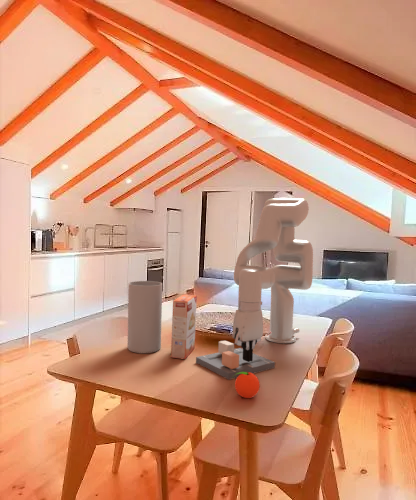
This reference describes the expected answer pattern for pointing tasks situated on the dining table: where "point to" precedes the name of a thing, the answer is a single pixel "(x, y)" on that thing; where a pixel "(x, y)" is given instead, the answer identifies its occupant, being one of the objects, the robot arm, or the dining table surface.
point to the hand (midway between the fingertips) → (247, 360)
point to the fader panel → (216, 366)
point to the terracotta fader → (230, 359)
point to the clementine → (247, 384)
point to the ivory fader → (225, 347)
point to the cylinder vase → (144, 316)
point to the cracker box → (183, 326)
